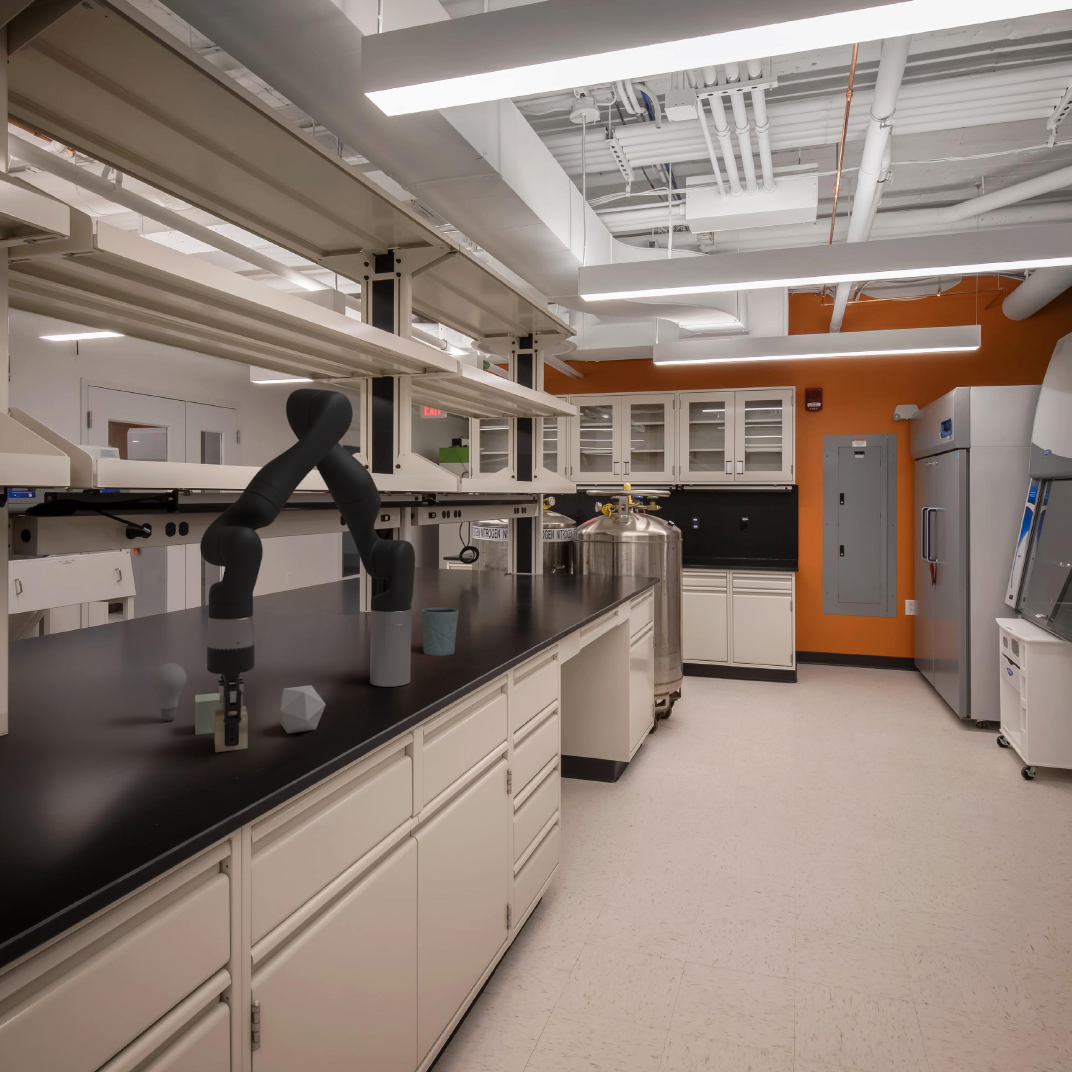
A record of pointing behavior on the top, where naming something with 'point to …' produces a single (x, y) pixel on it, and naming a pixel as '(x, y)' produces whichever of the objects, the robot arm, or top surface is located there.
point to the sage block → (205, 712)
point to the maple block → (220, 730)
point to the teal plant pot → (439, 630)
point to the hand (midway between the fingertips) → (230, 739)
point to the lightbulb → (168, 687)
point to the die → (299, 709)
